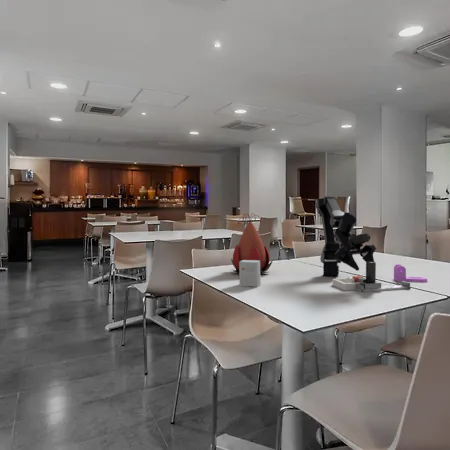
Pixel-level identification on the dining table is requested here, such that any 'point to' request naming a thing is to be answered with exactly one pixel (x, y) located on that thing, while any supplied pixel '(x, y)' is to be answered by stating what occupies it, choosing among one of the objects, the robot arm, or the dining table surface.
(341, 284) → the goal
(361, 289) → the rail
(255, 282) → the small box
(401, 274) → the bracket
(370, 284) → the post on base plate
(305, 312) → the dining table surface
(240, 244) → the decorative flower
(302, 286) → the dining table surface
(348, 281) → the ball
